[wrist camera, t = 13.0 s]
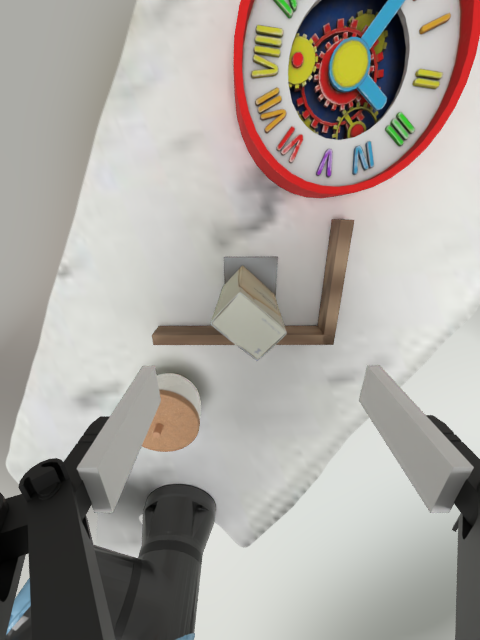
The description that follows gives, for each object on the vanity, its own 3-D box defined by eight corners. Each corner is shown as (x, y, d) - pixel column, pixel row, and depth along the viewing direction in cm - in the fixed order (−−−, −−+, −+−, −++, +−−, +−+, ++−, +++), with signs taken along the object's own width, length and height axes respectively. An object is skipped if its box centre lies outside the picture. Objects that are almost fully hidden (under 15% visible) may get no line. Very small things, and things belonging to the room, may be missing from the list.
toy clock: (186, 86, 21) (369, -256, 15) (197, 112, 26) (334, -130, 20) (344, 237, 26) (533, 31, 20) (327, 233, 31) (470, 70, 25)
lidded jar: (140, 357, 38) (111, 399, 30) (208, 365, 39) (199, 407, 30) (142, 409, 43) (117, 459, 34) (204, 415, 43) (194, 466, 35)
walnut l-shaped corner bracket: (326, 334, 37) (333, 344, 34) (160, 335, 37) (153, 344, 34) (344, 219, 30) (354, 220, 28) (142, 220, 30) (132, 221, 28)
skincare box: (274, 294, 34) (291, 333, 23) (253, 316, 35) (258, 363, 24) (241, 263, 32) (241, 289, 21) (219, 287, 34) (208, 324, 22)
